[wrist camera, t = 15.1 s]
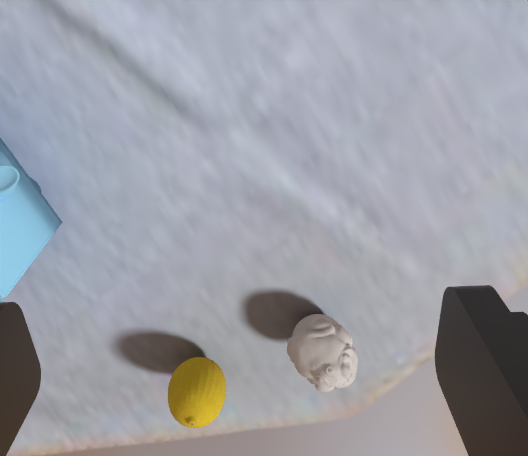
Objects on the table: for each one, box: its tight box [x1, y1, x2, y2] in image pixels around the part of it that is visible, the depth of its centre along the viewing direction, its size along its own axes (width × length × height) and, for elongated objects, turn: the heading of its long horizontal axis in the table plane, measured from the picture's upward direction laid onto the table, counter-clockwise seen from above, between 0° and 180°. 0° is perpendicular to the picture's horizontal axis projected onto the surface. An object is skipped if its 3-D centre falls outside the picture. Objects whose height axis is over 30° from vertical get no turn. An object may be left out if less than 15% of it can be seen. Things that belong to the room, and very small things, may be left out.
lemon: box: [168, 357, 226, 428], centre depth 49 cm, size 6×6×8 cm
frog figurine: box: [287, 314, 358, 392], centre depth 47 cm, size 6×7×7 cm
